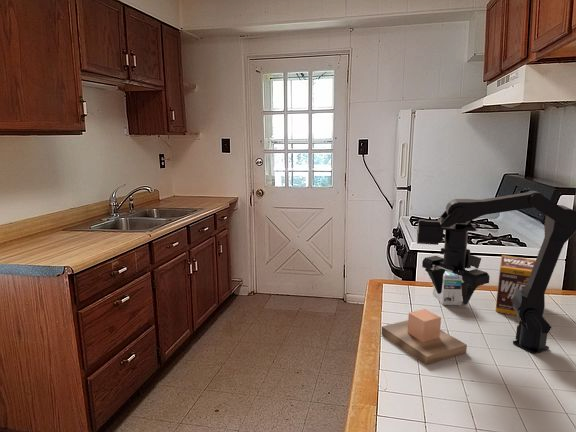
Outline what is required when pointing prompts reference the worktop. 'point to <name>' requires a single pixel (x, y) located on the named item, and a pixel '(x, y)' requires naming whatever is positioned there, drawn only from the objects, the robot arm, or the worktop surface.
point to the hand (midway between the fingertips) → (451, 298)
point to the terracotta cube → (424, 325)
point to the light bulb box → (450, 289)
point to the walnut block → (424, 344)
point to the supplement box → (512, 281)
